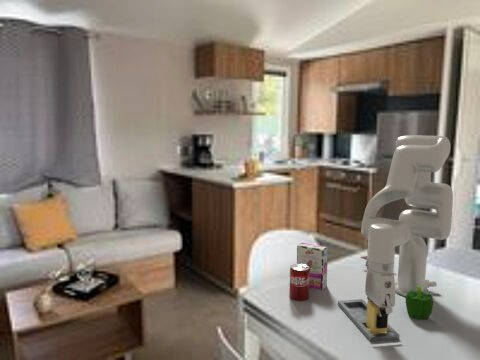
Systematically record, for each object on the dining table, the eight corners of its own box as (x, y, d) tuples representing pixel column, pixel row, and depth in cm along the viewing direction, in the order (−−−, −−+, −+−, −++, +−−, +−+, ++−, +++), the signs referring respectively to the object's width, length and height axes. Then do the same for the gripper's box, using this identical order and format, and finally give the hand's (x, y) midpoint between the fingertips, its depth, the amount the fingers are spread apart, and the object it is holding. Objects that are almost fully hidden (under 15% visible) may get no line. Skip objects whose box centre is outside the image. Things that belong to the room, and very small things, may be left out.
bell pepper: (430, 325, 124) (432, 295, 123) (402, 318, 128) (404, 289, 127) (433, 314, 131) (435, 286, 130) (407, 308, 136) (409, 281, 134)
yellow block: (379, 323, 122) (381, 301, 120) (387, 331, 117) (388, 307, 116) (366, 325, 121) (367, 302, 120) (373, 332, 116) (374, 308, 115)
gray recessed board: (362, 304, 138) (362, 299, 138) (399, 341, 115) (399, 335, 115) (337, 306, 137) (338, 300, 137) (370, 343, 114) (370, 337, 113)
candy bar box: (327, 287, 153) (328, 246, 151) (322, 291, 149) (323, 250, 147) (301, 280, 159) (302, 241, 157) (295, 284, 155) (296, 244, 153)
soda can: (309, 303, 139) (310, 271, 137) (288, 301, 140) (289, 269, 139) (309, 295, 146) (310, 264, 144) (290, 293, 148) (290, 262, 146)
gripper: (408, 275, 109) (404, 337, 111) (378, 255, 125) (375, 309, 128) (382, 277, 107) (379, 339, 110) (355, 256, 124) (353, 311, 127)
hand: (377, 322), depth 119 cm, fingers closed on yellow block, 4 cm apart
